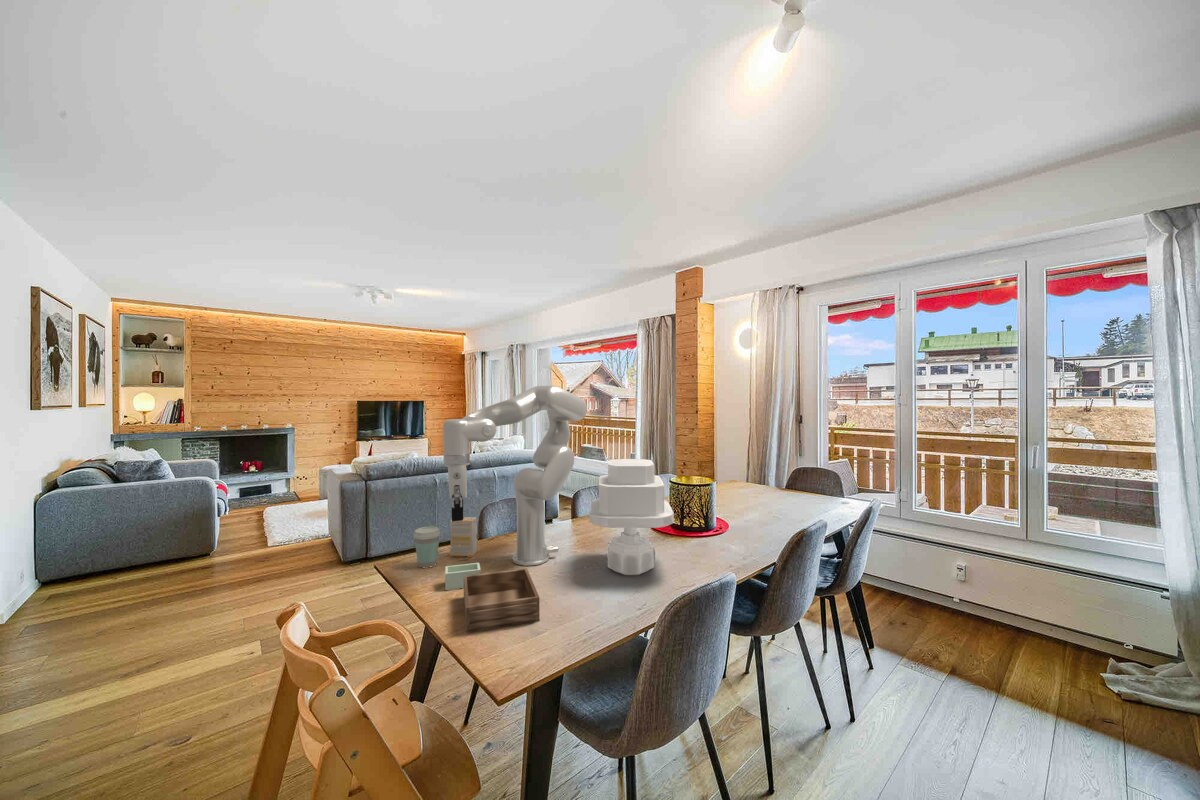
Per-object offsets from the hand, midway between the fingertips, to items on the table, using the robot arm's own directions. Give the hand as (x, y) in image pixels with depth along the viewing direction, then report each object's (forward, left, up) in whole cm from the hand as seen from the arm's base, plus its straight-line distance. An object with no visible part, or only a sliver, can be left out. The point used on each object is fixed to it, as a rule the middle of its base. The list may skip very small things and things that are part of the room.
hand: (457, 516), depth 139 cm
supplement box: (-2, -25, -21) cm, 33 cm away
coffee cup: (+10, -19, -21) cm, 30 cm away
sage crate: (-1, +1, -21) cm, 21 cm away
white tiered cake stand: (-54, +5, -21) cm, 58 cm away
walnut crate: (-10, +20, -21) cm, 31 cm away
